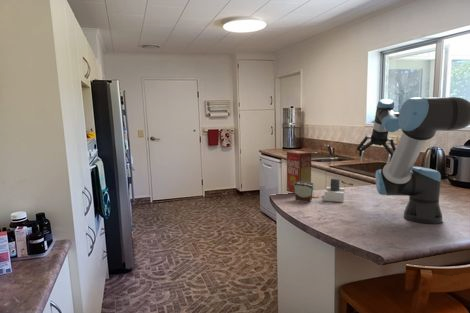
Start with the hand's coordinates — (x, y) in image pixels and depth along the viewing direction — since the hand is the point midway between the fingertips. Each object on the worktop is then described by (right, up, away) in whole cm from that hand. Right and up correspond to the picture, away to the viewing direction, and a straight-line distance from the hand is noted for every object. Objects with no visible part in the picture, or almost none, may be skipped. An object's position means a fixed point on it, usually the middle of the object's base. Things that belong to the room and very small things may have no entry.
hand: (374, 163), depth 177 cm
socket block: (-20, -20, +5) cm, 29 cm away
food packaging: (-38, -19, +21) cm, 47 cm away
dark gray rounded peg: (-20, -20, +5) cm, 29 cm away
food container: (-38, -21, +2) cm, 43 cm away
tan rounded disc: (-31, -20, +10) cm, 38 cm away
